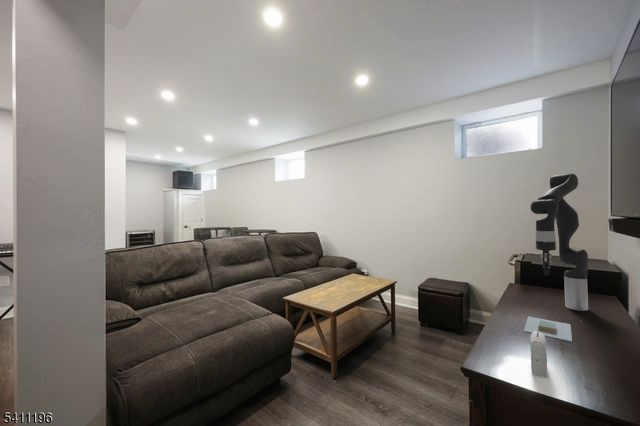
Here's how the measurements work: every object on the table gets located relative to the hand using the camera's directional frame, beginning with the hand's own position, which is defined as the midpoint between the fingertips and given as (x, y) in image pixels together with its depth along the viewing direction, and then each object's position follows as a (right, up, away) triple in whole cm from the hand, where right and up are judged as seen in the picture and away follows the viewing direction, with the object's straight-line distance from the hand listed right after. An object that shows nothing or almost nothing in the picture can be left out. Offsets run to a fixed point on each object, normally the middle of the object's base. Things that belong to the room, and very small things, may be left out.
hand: (546, 275), depth 131 cm
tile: (-4, -22, -6) cm, 23 cm away
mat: (-5, -23, -7) cm, 25 cm away
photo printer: (-36, -24, -39) cm, 58 cm away
